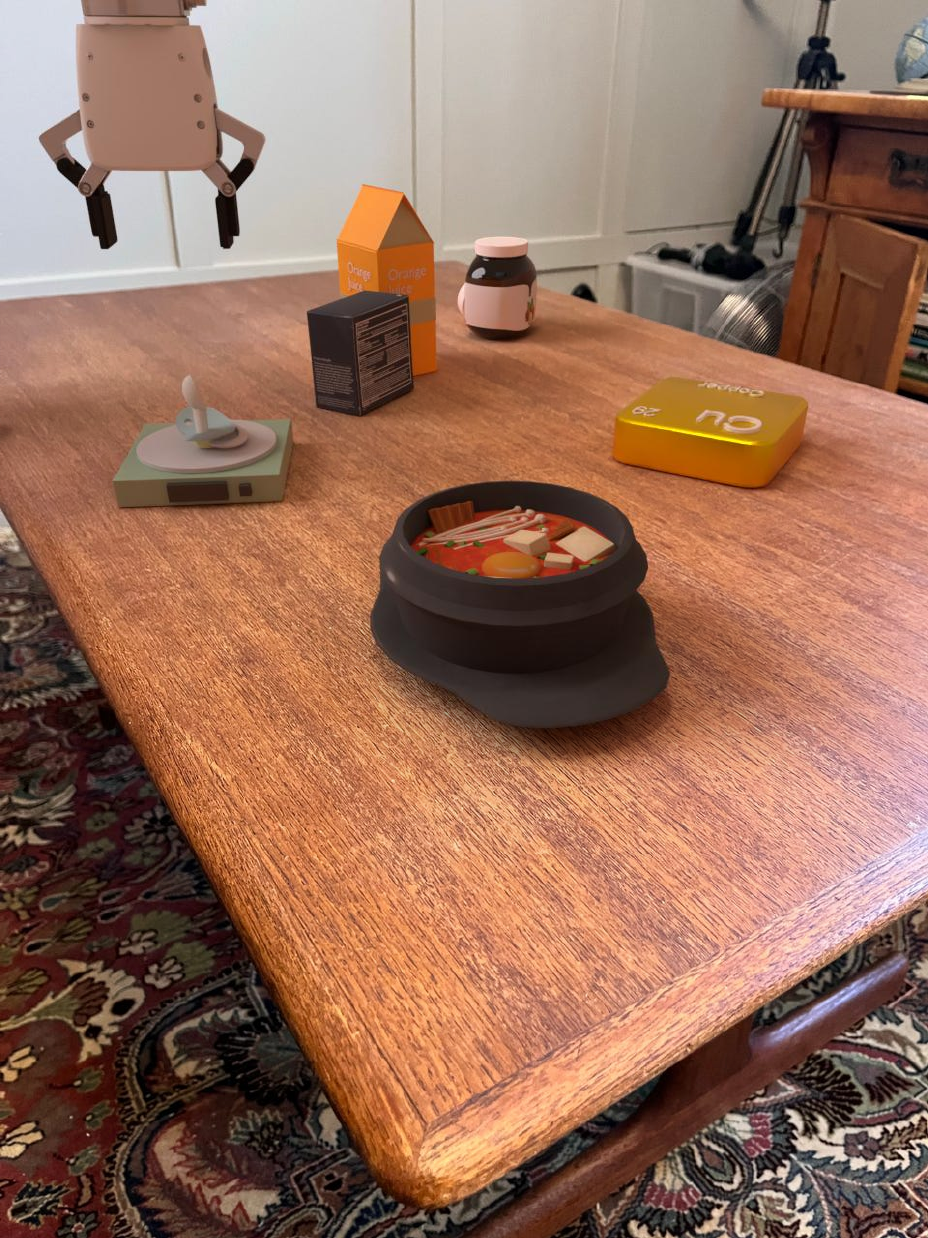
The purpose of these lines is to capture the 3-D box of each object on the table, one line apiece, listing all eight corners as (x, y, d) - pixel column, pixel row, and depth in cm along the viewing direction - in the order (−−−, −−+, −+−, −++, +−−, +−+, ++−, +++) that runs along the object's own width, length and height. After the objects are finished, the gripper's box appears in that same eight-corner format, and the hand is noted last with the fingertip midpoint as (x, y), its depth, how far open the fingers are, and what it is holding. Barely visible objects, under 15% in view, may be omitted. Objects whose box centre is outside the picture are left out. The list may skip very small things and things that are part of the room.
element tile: (806, 439, 96) (815, 392, 94) (763, 493, 85) (771, 441, 83) (661, 414, 103) (666, 369, 101) (604, 461, 92) (608, 411, 90)
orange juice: (382, 382, 113) (372, 195, 102) (344, 365, 119) (331, 186, 109) (438, 370, 117) (434, 188, 106) (398, 353, 123) (390, 180, 113)
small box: (369, 380, 114) (363, 287, 108) (416, 389, 111) (412, 294, 105) (312, 407, 106) (303, 308, 100) (361, 417, 103) (354, 315, 98)
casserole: (325, 582, 72) (315, 476, 68) (550, 537, 78) (554, 438, 74) (452, 790, 52) (449, 659, 48) (740, 708, 59) (761, 586, 54)
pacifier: (238, 425, 93) (174, 432, 91) (232, 359, 90) (165, 365, 88) (257, 451, 87) (189, 459, 85) (251, 381, 84) (180, 389, 82)
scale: (116, 510, 83) (109, 477, 82) (149, 448, 96) (144, 418, 94) (282, 503, 84) (278, 471, 83) (293, 442, 97) (290, 413, 95)
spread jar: (507, 345, 125) (508, 250, 119) (433, 334, 131) (431, 242, 125) (550, 324, 134) (553, 234, 128) (479, 314, 139) (479, 227, 133)
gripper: (258, 4, 76) (277, 237, 85) (30, 1, 75) (74, 237, 84) (247, 3, 70) (269, 254, 79) (-3, -1, 69) (49, 255, 77)
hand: (168, 245), depth 81 cm, fingers open, 9 cm apart
